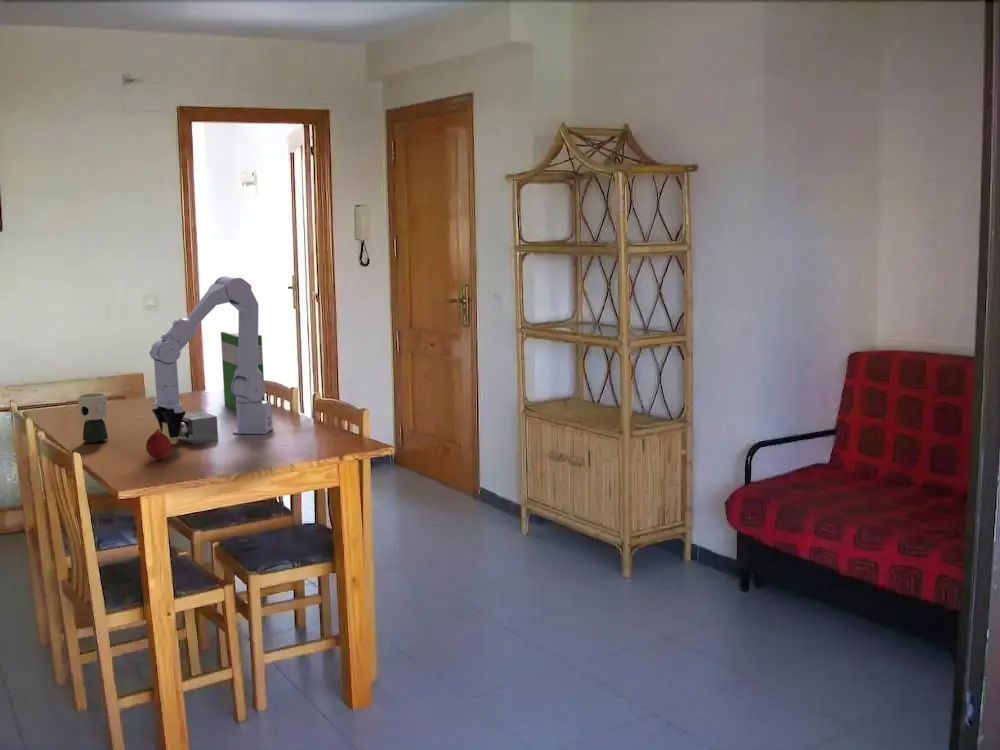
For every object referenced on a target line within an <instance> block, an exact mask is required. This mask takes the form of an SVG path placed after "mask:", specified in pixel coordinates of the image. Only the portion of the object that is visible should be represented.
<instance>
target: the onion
mask: <svg viewBox="0 0 1000 750" xmlns="http://www.w3.org/2000/svg"><path fill="white" fill-rule="evenodd" d="M171 443H172V442H170V440H169V439H168V437H167V436H166V435H164V434H163V433H162V432H161V429H160V428H157V429H155V431H154V432H153V433H152V434H151V435H150V436H149V437H148V439H147V440H146V443H145V448H146V449H145V450H146V452H147V454H149V456H150V457H152V458H153V459H155V460H156V461H162V460H163V459H164V458H165V457H166V456H167V455H169V453H170V451H171V447H172V444H171ZM161 459H162V460H161Z"/></svg>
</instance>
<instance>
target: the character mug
mask: <svg viewBox="0 0 1000 750" xmlns="http://www.w3.org/2000/svg"><path fill="white" fill-rule="evenodd" d="M77 401H78V403H77V404H78V409H79V410H78V411H79V413H78V414H79V419H80V420H83V421H84V424H83V431H82V432H83V434H82V442H84V443H97V444H98V443H99V442H101V441H104V440H105V441H106V440H108V439H109V436H108V431H107V427H106V423H105V420H104V419H105V418H107V417H108V416H109V414H108V412H109V411H108V402H107V401H108V400H107V394H106V393H104V392H93V393H92V392H91V393H83V394H80V395H79V394H78V396H77Z"/></svg>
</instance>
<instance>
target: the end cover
mask: <svg viewBox="0 0 1000 750" xmlns="http://www.w3.org/2000/svg"><path fill="white" fill-rule="evenodd" d="M161 433H163V434H164V435H166V436H167V437H168V439H169V440H170V443H172V442H179V439H178V437H182V436H188V435H189V431H188V422H181V426H180V431H179V436H178V437H174V438H170V436H169V432H168V426H167V423H166V421H163V422H162V432H161Z"/></svg>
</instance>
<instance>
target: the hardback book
mask: <svg viewBox="0 0 1000 750" xmlns="http://www.w3.org/2000/svg"><path fill="white" fill-rule="evenodd" d="M238 334H239V332H234V333H233V332H232V333H229V332H227V331H226V332H225V331H221V332H220V341H221V343H220V344H221V360H222V361H221V362H222V377H223V382H222V383H223V397H224V398H223V399H224V401H223V402H224V406H225V407H227V408H229V409H231V410H233V411H235V412H236V396H235V395H234V394H233V392H232V390H231V384H232V382H233V380H234V373H235V371H236V369H237V368H238ZM263 353H264V352H263V336H262V335H261V334H258V368H259V370H260V371H261V373H262V375H263V382H264V383H265V379H264V376H265V375H264V357H263V356H264V355H263ZM265 398H266V396H265V395H264V396H263V398H262V400H263V401H266V399H265Z"/></svg>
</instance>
